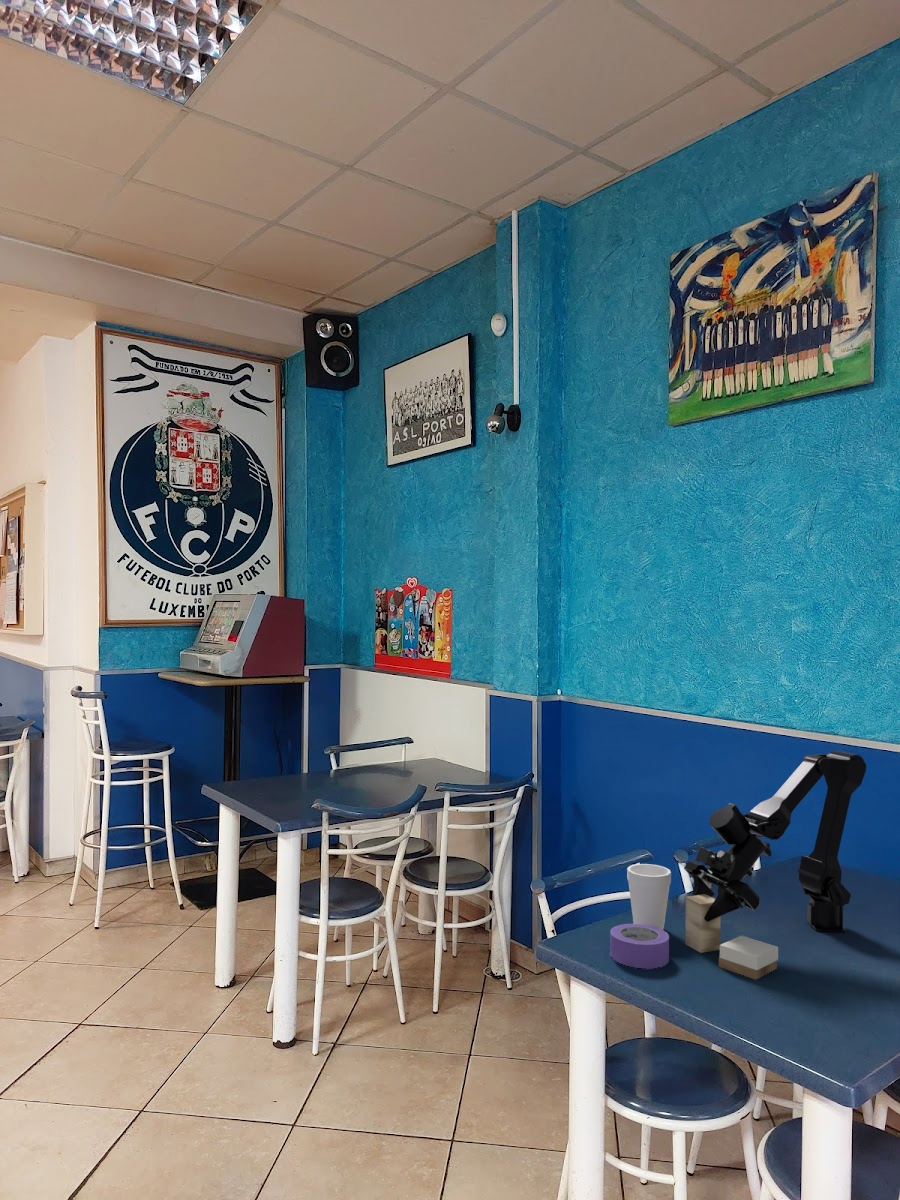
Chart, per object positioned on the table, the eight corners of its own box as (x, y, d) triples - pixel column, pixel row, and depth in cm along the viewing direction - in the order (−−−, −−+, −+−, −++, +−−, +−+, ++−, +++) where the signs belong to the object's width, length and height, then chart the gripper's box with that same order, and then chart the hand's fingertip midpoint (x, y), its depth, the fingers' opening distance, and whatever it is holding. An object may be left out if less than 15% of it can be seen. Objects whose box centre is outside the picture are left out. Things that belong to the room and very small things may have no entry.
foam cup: (672, 924, 194) (672, 866, 194) (668, 939, 185) (669, 878, 185) (629, 919, 197) (630, 862, 197) (624, 933, 188) (624, 873, 188)
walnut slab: (740, 959, 176) (740, 946, 177) (776, 971, 170) (776, 959, 170) (718, 969, 171) (718, 957, 171) (756, 982, 165) (756, 969, 165)
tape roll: (631, 942, 184) (631, 918, 184) (680, 958, 176) (680, 933, 176) (598, 957, 176) (598, 932, 176) (648, 975, 167) (648, 949, 167)
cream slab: (741, 947, 176) (741, 935, 176) (778, 959, 170) (778, 946, 170) (719, 957, 171) (719, 944, 171) (756, 970, 165) (756, 957, 165)
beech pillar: (704, 940, 184) (705, 894, 185) (720, 949, 180) (720, 901, 180) (685, 944, 183) (685, 896, 183) (700, 952, 178) (700, 904, 178)
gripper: (691, 823, 192) (648, 878, 188) (748, 845, 174) (703, 906, 170) (720, 855, 194) (678, 910, 190) (779, 880, 177) (735, 941, 173)
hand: (697, 916), depth 181 cm, fingers closed on beech pillar, 5 cm apart
